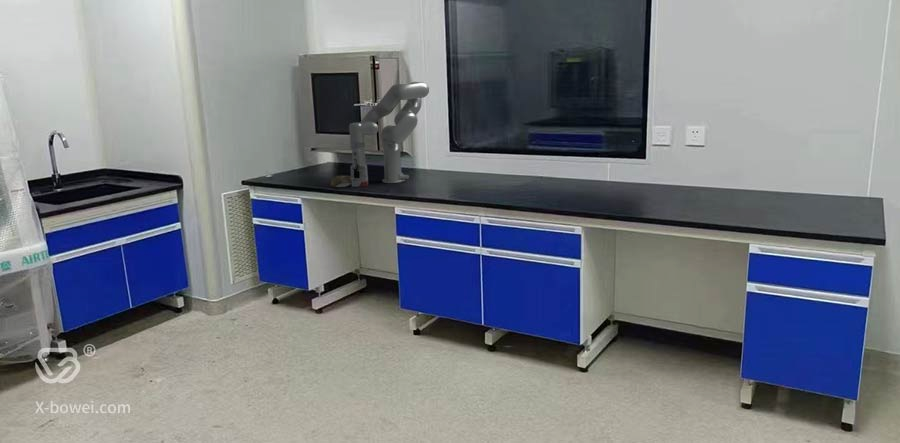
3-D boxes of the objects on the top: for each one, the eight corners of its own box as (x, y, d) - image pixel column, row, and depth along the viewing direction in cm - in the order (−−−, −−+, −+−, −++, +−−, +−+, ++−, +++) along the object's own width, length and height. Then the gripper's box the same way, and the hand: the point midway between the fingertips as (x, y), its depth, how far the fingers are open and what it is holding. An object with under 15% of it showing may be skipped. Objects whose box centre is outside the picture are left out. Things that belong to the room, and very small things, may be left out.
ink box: (368, 184, 372) (367, 164, 369) (366, 186, 367) (365, 165, 364) (353, 185, 373) (352, 164, 370) (351, 186, 368) (350, 165, 365)
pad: (351, 183, 378) (351, 183, 378) (345, 186, 369) (345, 186, 368) (341, 183, 379) (341, 183, 379) (334, 186, 370) (334, 186, 370)
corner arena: (360, 182, 380) (360, 175, 379) (353, 186, 368) (353, 179, 367) (338, 182, 382) (338, 175, 381) (330, 186, 370) (330, 179, 370)
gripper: (359, 147, 356) (361, 179, 360) (368, 143, 372) (370, 174, 376) (345, 147, 357) (347, 179, 361) (356, 143, 374) (358, 174, 378)
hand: (359, 176), depth 369 cm, fingers open, 8 cm apart
